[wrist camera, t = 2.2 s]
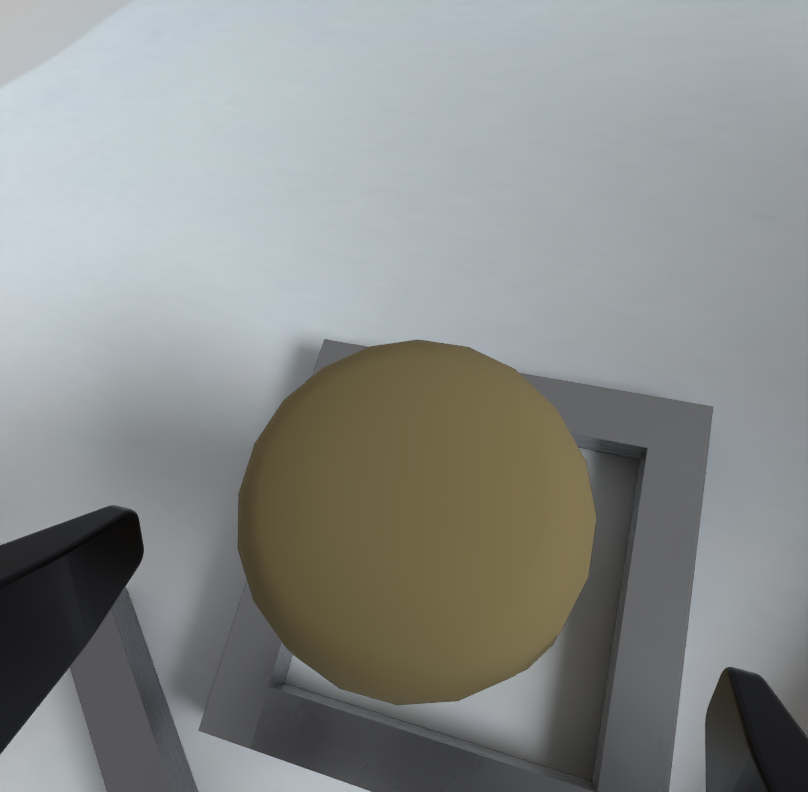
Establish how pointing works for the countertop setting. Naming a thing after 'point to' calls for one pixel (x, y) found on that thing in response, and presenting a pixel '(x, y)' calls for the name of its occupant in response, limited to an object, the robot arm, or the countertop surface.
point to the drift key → (128, 709)
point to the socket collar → (630, 657)
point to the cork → (416, 522)
